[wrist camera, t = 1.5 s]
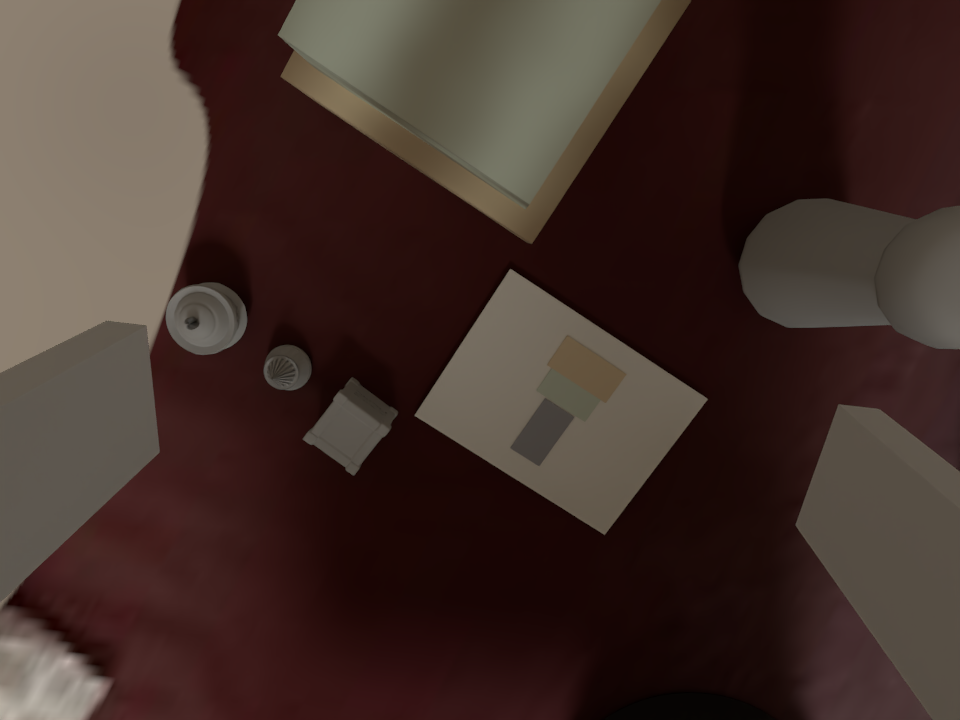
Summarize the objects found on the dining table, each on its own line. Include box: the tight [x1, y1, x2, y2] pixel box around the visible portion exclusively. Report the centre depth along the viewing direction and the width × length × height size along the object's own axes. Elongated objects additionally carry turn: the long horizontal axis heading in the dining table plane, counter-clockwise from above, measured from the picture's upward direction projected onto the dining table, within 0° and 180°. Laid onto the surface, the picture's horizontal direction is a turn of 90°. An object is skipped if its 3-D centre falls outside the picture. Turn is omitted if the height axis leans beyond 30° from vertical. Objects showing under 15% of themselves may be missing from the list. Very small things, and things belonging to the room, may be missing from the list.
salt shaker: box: [738, 198, 960, 349], centre depth 23 cm, size 6×6×13 cm
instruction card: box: [415, 269, 708, 535], centre depth 31 cm, size 12×9×1 cm
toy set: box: [166, 282, 398, 475], centre depth 30 cm, size 12×3×4 cm, turn 52°
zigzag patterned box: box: [278, 0, 691, 244], centre depth 24 cm, size 12×12×9 cm
